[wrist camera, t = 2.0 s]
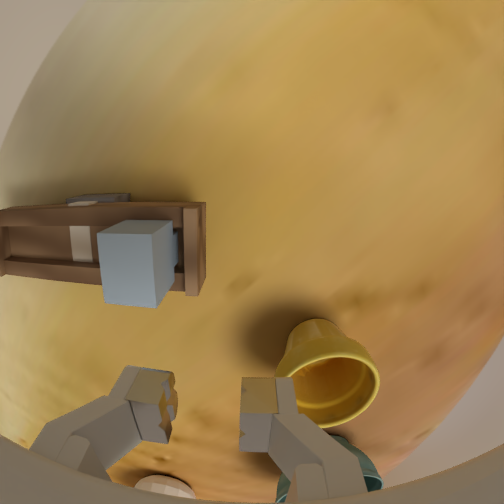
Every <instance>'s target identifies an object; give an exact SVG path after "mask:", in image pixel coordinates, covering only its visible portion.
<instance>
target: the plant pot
mask: <svg viewBox="0 0 504 504" xmlns="http://www.w3.org/2000/svg"><path fill="white" fill-rule="evenodd" d="M275 377H291V378H292V379H293V384H294V390H295V396H296V402H297V408H298V414H305V415H306V416H307V417H308V418H309V419H310V420H312V421H313V422H314V423H315V424H316V425H318V426H319V427H320V428H328V427H333V426H336V425H339V424H342V423H345V422H347V421H349V420H351V419H353V418H355V417H356V416H358V415H359V414H361V413H362V412H363V411H364V410H365V409H366V408H367V407H368V406H369V405H370V404H371V403H372V402H373V400H374V398H375V397H376V395H377V392H378V389H379V385H380V376H379V372H378V369H377V367H376V365H375V363H374V361H373V359H372V358H371V356H370V354H369V353H368V351H367V350H366V349H365V347H364V346H362V345H361V344H360V343H359V342H357V341H355V340H353V339H351V338H348V337H347V336H346V335H345V334H344V333H343V332H342V331H341V330H340V329H339V328H338V327H337V326H336V325H335V324H334V323H332V322H330V321H328V320H325V319H311V320H307V321H304V322H302V323H300V324H299V325H297V326H296V327H295V328H294V329H293V330H292V332H291V333H290V335H289V337H288V339H287V344H286V349H285V353H284V357H283V358H282V359H281V361H280V362H279V364H278V366H277V368H276V371H275V376H274V378H275Z"/></svg>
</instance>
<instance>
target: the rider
mask: <svg viewBox="0 0 504 504" xmlns="http://www.w3.org/2000/svg"><path fill="white" fill-rule="evenodd" d="M97 243H98V253H99V263H100V271H101V279H102V287H103V293H104V300H105V303H110V304H119V305H128V306H138V307H149V308H157V307H158V305H159V304H160V302H161V301H162V299H163V298H164V296H165V295H166V293H167V292H168V290H169V289H170V287H171V286H172V284H173V283H174V281H175V279H174V267H175V265H176V264H177V263H178V261H179V259H178V231H173V220H125V221H122V222H120V223H118V224H116V225H113V226H111V227H109V228H107V229H105V230H103V231H100V232H98V233H97Z"/></svg>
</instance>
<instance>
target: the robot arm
mask: <svg viewBox="0 0 504 504" xmlns="http://www.w3.org/2000/svg"><path fill="white" fill-rule="evenodd" d="M174 384H175V377H174V373H173V372H170V371H163V370H156V369H150V368H144V367H143V368H142V367H136V366H131V365H128V366H126V367H125V368H124V370H123V371H122V373H121V375H120V376H119V378H118V380H117V382H116V383H115V385H114V387H113V389H112V390H111V392H110V394H109V395H108V396H102V397H100V398H98V399H96V400H94V401H92V402H90V403H88V404H86V405H84V406H82V407H80V408H78V409H76V410H74V411H71V412H69V413H67V414H65V415H63V416H61V417H59V418H57V419H54V420H52V421H50V422H48V423H46V425H45V426H44V428H43V429H42V431H41V432H40V434H39V435H38V437H37V438H36V440H35V441H34V443H33V444H32V446H31V447H30V449H29V450H28V449H26V448H24V447H23V446H21V445H19V444H17V443H15V442H13V441H11V440H9V439H8V438H6V437H4V436H2V435H1V434H0V504H504V444H502V445H500V446H498V447H496V448H494V449H492V450H490V451H488V452H486V453H484V454H482V455H480V456H478V457H476V458H473V459H471V460H469V461H467V462H464V463H462V464H460V465H457V466H455V467H452V468H450V469H447V470H444V471H441V472H439V473H436V474H433V475H430V476H427V477H424V478H421V479H418V480H414V481H411V482H408V483H404V484H400V485H397V486H393V487H389V488H385V489H381V490H376V491H371V492H368V491H367V487H366V484H365V480H364V477H363V474H362V470H361V467H360V464H359V460H358V457H356V456H355V455H354V454H352V453H351V452H350V451H349V450H347V449H346V448H345V447H343V446H342V445H341V444H340V443H338V442H337V441H336V440H335V439H333V438H332V437H331V436H330V435H328V434H327V433H326V432H325V431H324V430H322V429H321V428H320V427H319V426H318V425H316V424H315V423H314V422H313V421H312V420H310V419H309V418H308V417H307V416H306V415H305V414H298V408H297V402H296V396H295V390H294V384H293V379H292V378H291V377H275V378H254V377H242V384H241V403H240V437H239V451H246V452H268V454H269V456H270V457H271V458H272V459H273V461H274V462H275V463H276V464H277V466H278V467H279V468H280V469H281V471H282V472H283V473H284V474H285V476H286V477H287V478H288V479H289V480H290V482H291V484H290V487H289V491H288V494H287V497H286V500H285V502H282V503H241V502H222V501H210V500H201V499H192V498H185V497H178V496H172V495H166V494H161V493H155V492H151V491H146V490H141V489H137V488H133V487H129V486H125V485H121V484H117V483H114V482H112V480H111V479H110V477H109V475H108V474H107V472H106V470H107V469H108V468H109V467H111V466H112V465H113V464H114V463H116V462H117V461H118V460H120V459H121V458H122V457H123V456H125V455H126V454H127V453H128V452H130V451H131V450H132V449H133V448H135V447H136V446H137V445H138V444H139V443H141V442H142V440H144V441H150V442H157V443H164V444H168V442H169V439H170V435H171V432H172V425H171V421H173V420H174V419H175V417H176V414H177V407H178V397H177V392H176V391H175V390H174V389H173V387H174Z"/></svg>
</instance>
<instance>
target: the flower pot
mask: <svg viewBox="0 0 504 504" xmlns="http://www.w3.org/2000/svg"><path fill="white" fill-rule="evenodd" d="M330 436H331V437H332V438H333V439H335V440H336V441H337V442H338V443H340V444H341V445H342V446H343V447H345V448H346V449H347V450H349V451H350V452H351V453H352V454H354V455H355V456H356V457H358V460H359V464H360V467H361V470H362V474H363V477H364V480H365V484H366V487H367V491H368V492H371V491H376V490H381V489H382V488H383V484H384V483H383V480H382V478H381V477H380V476H379V474H378V472H377V470H376V468H375V466H374V464H373V463H372V461H371V460H370V459H369V458H368V457H367V456H366V455H365V454H364V453H363V452H362V451H361V450H359V449H358V448H356V447H355V446H353V445H351V444H349V443H348V441H347V440H346V439H345V438H343V437H340V436H334V435H330ZM290 484H291V482H290V480H289V479H288V478H287V477H286V476H285V474H284V473H283V472H282V473H281V476H280V479H279V482H278V486H277V498H276V501H275V503H282V502H285V500H286V497H287V494H288V491H289V487H290Z"/></svg>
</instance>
